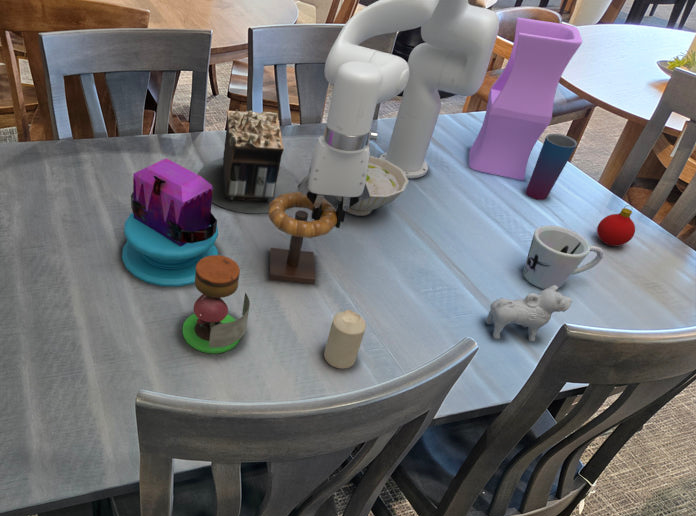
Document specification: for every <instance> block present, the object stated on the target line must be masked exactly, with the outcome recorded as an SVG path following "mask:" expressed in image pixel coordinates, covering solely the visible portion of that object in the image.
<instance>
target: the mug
mask: <svg viewBox="0 0 696 516" xmlns="http://www.w3.org/2000/svg"><path fill="white" fill-rule="evenodd" d="M590 252H595V253H596V256H595V257H594V258H593V259H592V260H591V261H590V262H588V263H585V264H583V265H581V266H580V264H581V263H582V262H583V261H584V260H585V258H586V257H587V256H589V254H590ZM603 258H604V250H603V249H602V248H601V247H599V246H596V245H590V243H589V241H588V240H587V239H586V238H585V237H584V236H583V235H581V234H579V233H578V232H575V231H573V230H571V229H569V228H566V227H562V226H558V225H557V226H556V225H543V226H539V227H537V229H535V230H534V233H533V235H532V239H531V243H530V245H529V250H528V253H527V256H526V261H525V264H524V267H523V273H522V274H523V277H524V278H525V280H526V281H527V282H528V283H530V284H531V285H532V286H535V287H537V288H538V289H539V288H540V289H543V290H545V289H547V288H549V287H551V286H553V285H556V286H557V287H558V289H560V288H561V287H562V286H563V285H564V284H565V282H567V281H568V279H569V278H570V277H571V276H572V275H573V276H574V275H577V274H581V273H583V272H586V271H589V270H591V269H592V268H594V267H596V266H597V265H598V264H600V262H601V261H602V260H603Z"/></svg>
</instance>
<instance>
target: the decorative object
mask: <svg viewBox="0 0 696 516" xmlns="http://www.w3.org/2000/svg"><path fill="white" fill-rule="evenodd" d="M197 174H198V173H195V172H193V171H192V170H190V169H188V168H186V167H184V166H182V165H180V164H179V163H177V162H174V161H172V160H171V159H168V158H167V157H166V158H163V159H161V160H159V161H157V162H155V163H153V164H151V165H148V166H147V167H145V168H142V169H140V170H138V171H136V172H133V176H132V178H133V179H132V182H133V183H132V187H133V188H132V190H133V191H132V193H131V195H130V209H131V211H132V212H131V213H130V214H129V216H128V217H127V218H126V220H125V221H124V227H123V234H124V236H125V239H126V242H125V244H124V245H123V247H122V252H121V260H122V262H123V264H124V267H125V269H126V270H127V271H128V272H129V273H130V274H131V275H133V276H134V277H135V278H137V279H139V280H141V281H143V282H144V283H147V284H151V285H155V286H160V287H182V286H187V285H193V284H194V285H195V272H196V265H197V263H198V262H199V261H200V260H201V259H203V258H205V257H207V256H212V255H219V253H218V252H219V251H218V248H217V247H216V245H215V244H216V241H217V239H218V236H219V230H218V229H219V228H218V219H217V218H216V216H215V215H213V213H212V204H213V203H212V192H213V190H212V185H211V184H210V183H209V182H207V181H206V180H205V179H204V178H202V177H201V176H199V175H197Z"/></svg>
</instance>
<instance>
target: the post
mask: <svg viewBox="0 0 696 516" xmlns="http://www.w3.org/2000/svg"><path fill="white" fill-rule="evenodd" d="M308 217H309V213H308V212H307V211H305V210H302V209H301V210H296V211H295V213H294V219H296V220H299V221H308V219H309V218H308ZM290 236H291V237H290V241H289V248H288V249H287V248H278V247H270V250H269V280H270V281H276V282H285V283H296V284H305V285H306V284H307V285H315V282H316V280H317V279H316V267H315V254H314V251H308V250H302V248H303V243H304V239H305V237H297V236H292V235H290Z"/></svg>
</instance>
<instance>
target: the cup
mask: <svg viewBox="0 0 696 516" xmlns="http://www.w3.org/2000/svg"><path fill="white" fill-rule="evenodd" d="M577 145H578V141H576V139H574V138H573V137H570V136H568V135H566V134H561V133H549V134H546V136H545V138H544V141H543V144H542V146H541V149H540V152H539V155H538V157H537V160H536V163H535V165H534V168H533V171H532V173H531V176H530V179H529V181H528V184H527V187H526V190H525V194H526V196H528V197H529V198H531V199H534V200H536V201H537V200H538V201H543V200H546V199H547V198H548V196H549V195H550V194H551V191H552V190H553V188H554V186H555V184H556V182H557V181H558V179H559V178H560V175H561V174H562V172H563V170H564V168H565V167H566V165H567V163H568V161H569V159H570V158H571V156H572V154H573V153H574V151H575V149H576V148H577Z"/></svg>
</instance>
